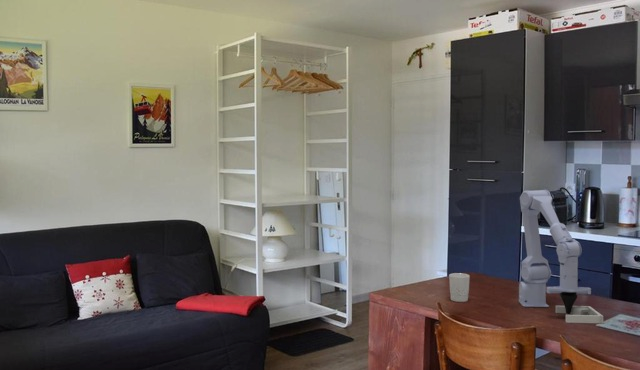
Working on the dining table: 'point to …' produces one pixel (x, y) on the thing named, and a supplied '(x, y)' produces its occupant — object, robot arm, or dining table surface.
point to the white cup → (459, 287)
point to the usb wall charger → (580, 310)
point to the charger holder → (582, 316)
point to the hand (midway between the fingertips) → (568, 313)
